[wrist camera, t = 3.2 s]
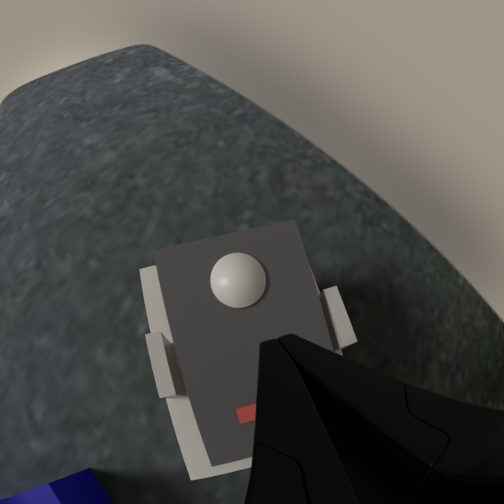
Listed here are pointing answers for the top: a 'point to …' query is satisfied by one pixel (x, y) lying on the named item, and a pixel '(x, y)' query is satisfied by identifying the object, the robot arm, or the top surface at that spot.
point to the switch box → (172, 379)
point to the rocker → (235, 322)
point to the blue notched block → (65, 492)
